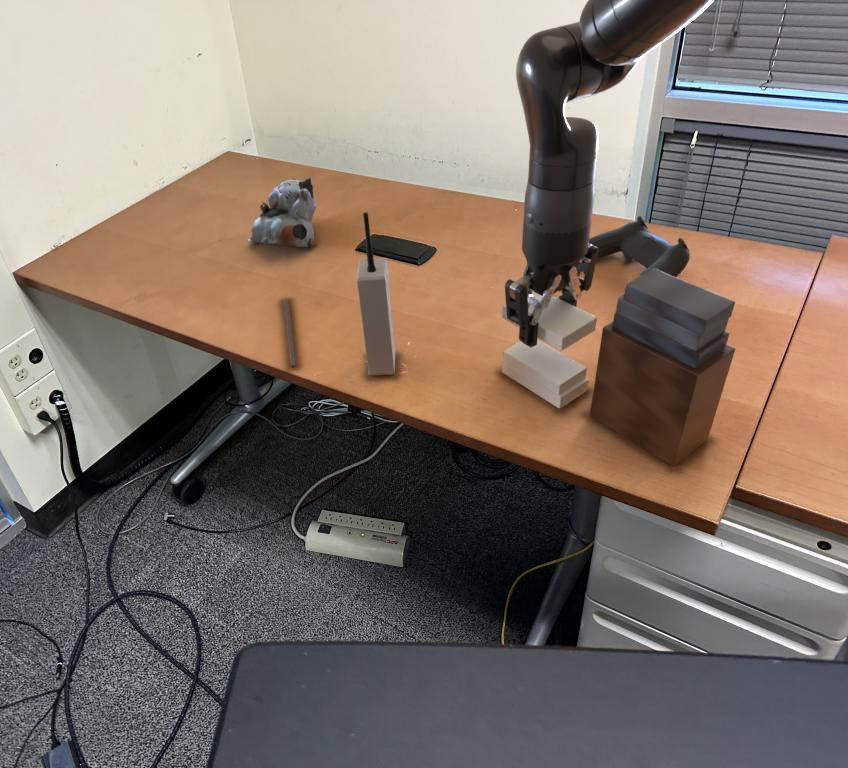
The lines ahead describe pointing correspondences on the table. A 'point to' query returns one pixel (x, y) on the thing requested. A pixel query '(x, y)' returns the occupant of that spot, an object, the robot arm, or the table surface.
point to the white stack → (545, 372)
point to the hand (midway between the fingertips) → (547, 332)
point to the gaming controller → (643, 248)
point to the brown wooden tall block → (663, 365)
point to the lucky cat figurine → (287, 216)
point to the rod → (289, 334)
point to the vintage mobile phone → (376, 310)
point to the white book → (560, 323)
